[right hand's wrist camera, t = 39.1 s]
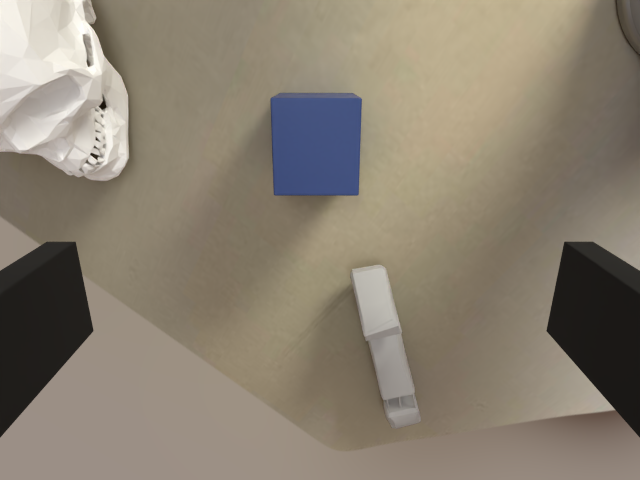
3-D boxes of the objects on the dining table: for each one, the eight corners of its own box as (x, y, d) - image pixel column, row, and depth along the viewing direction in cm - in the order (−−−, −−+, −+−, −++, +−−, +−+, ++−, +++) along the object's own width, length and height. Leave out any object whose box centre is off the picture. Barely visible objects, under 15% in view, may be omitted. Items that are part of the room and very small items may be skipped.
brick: (281, 173, 43) (273, 195, 36) (278, 92, 41) (270, 97, 33) (351, 174, 43) (358, 195, 36) (353, 93, 41) (361, 98, 33)
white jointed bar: (347, 264, 46) (353, 302, 40) (383, 256, 45) (394, 293, 39) (384, 405, 54) (394, 454, 48) (415, 398, 54) (428, 447, 48)
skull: (70, 202, 44) (-50, 266, 29) (-95, -30, 37) (-364, -105, 22) (189, 140, 42) (127, 173, 27) (40, -115, 35) (-153, -257, 20)
